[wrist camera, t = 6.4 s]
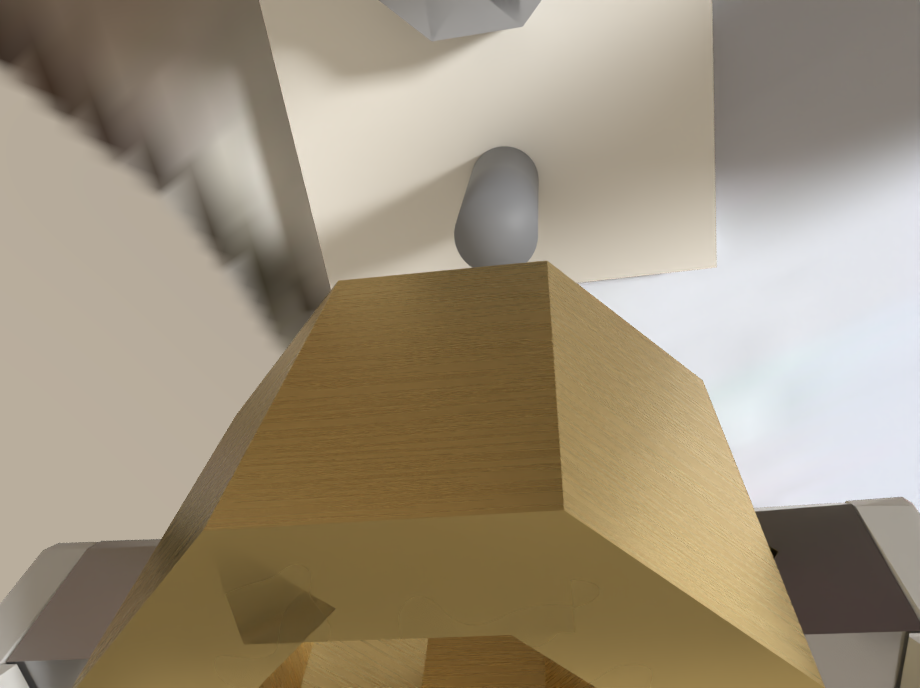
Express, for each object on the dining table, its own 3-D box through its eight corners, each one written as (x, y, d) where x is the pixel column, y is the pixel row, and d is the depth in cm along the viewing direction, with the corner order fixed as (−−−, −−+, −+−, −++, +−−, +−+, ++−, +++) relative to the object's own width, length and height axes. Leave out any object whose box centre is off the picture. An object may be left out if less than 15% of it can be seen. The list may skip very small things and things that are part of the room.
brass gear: (703, 245, 8) (846, 495, 4) (700, 630, 10) (790, 988, 7) (197, 293, 9) (-28, 542, 5) (305, 643, 11) (204, 977, 8)
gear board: (709, 253, 25) (757, 341, 19) (344, 295, 27) (293, 386, 21) (697, -297, 19) (762, -399, 13) (225, -194, 21) (110, -246, 15)
